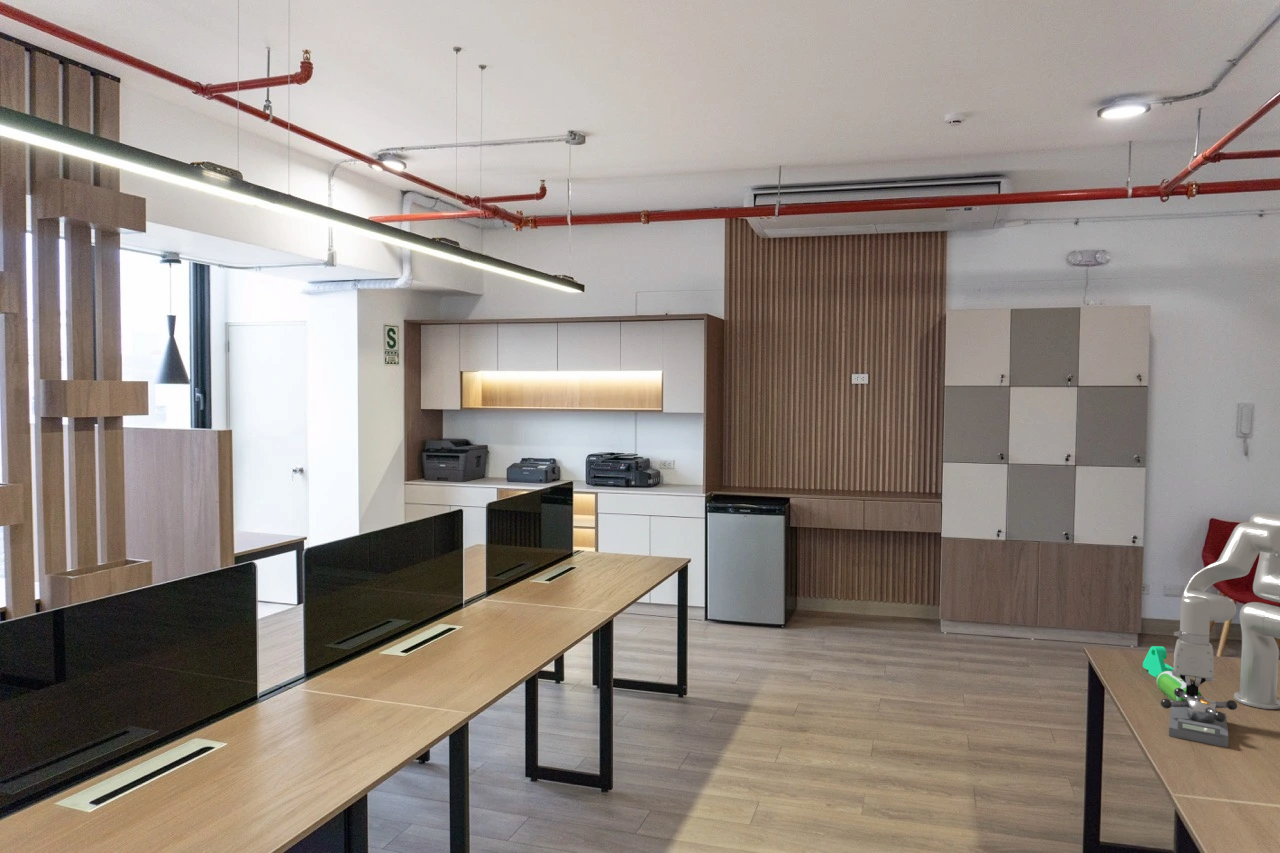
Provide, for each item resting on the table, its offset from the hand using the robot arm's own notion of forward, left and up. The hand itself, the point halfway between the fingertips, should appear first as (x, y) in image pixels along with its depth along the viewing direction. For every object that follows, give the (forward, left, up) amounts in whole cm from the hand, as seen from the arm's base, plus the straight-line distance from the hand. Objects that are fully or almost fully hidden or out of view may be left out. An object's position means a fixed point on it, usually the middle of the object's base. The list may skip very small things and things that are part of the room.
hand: (1191, 697), depth 261 cm
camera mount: (-38, -8, -6) cm, 39 cm away
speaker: (-13, -3, -6) cm, 14 cm away
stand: (+10, +2, -6) cm, 12 cm away
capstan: (+7, +2, -3) cm, 8 cm away
